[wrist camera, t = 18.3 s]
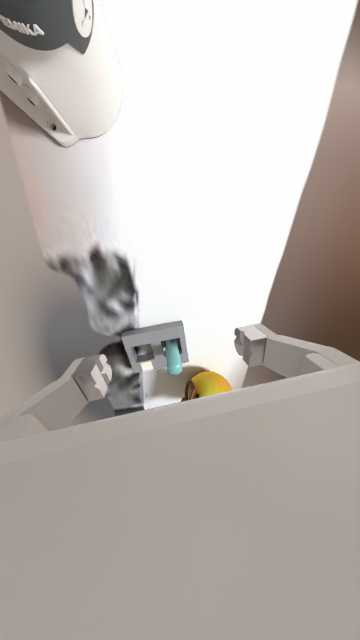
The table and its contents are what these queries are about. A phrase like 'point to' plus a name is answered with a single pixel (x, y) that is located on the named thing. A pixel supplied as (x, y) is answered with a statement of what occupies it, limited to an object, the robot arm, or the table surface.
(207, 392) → the emoji
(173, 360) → the teal rounded cylinder
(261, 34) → the table surface
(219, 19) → the table surface
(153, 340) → the socket board
